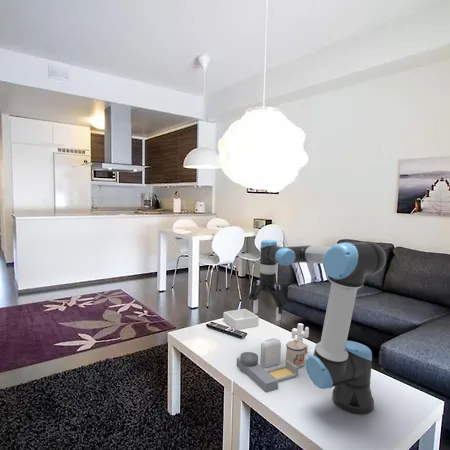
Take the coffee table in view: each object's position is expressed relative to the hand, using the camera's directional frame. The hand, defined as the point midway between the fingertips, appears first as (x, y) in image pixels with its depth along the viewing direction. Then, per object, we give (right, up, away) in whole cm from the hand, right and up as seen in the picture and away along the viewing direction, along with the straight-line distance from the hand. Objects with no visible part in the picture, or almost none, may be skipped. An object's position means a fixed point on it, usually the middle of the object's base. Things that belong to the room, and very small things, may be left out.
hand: (266, 316), depth 159 cm
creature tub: (-10, -18, +49) cm, 53 cm away
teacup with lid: (+15, -23, +1) cm, 27 cm away
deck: (0, -23, -9) cm, 25 cm away
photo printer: (+2, -23, -1) cm, 23 cm away
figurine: (+18, -22, +12) cm, 31 cm away
